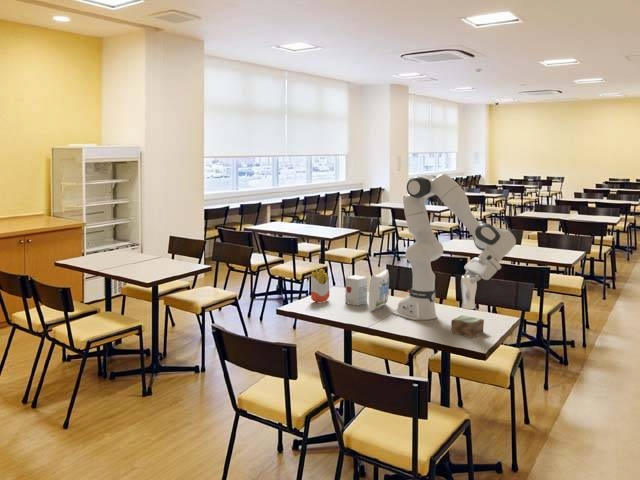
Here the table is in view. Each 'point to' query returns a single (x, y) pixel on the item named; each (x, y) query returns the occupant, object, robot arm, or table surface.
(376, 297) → the pouch
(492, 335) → the table surface
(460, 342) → the table surface
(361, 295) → the supplement box
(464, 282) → the beer glass
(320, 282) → the french fries container
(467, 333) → the brown green square block
